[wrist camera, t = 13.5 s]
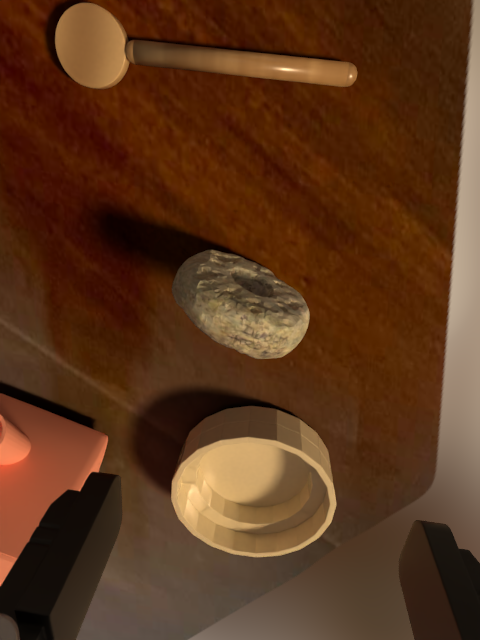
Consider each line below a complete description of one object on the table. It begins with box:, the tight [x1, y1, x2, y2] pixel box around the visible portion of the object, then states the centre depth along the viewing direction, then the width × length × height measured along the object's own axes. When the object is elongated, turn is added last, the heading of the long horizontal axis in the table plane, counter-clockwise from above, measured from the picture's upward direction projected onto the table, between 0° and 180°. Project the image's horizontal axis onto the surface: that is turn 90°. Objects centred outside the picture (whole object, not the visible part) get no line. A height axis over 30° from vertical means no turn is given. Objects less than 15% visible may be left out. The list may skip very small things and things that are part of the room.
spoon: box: [55, 3, 357, 89], centre depth 27 cm, size 20×5×1 cm, turn 84°
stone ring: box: [172, 250, 310, 359], centre depth 30 cm, size 10×4×10 cm, turn 62°
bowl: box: [171, 406, 336, 557], centre depth 41 cm, size 15×15×5 cm
